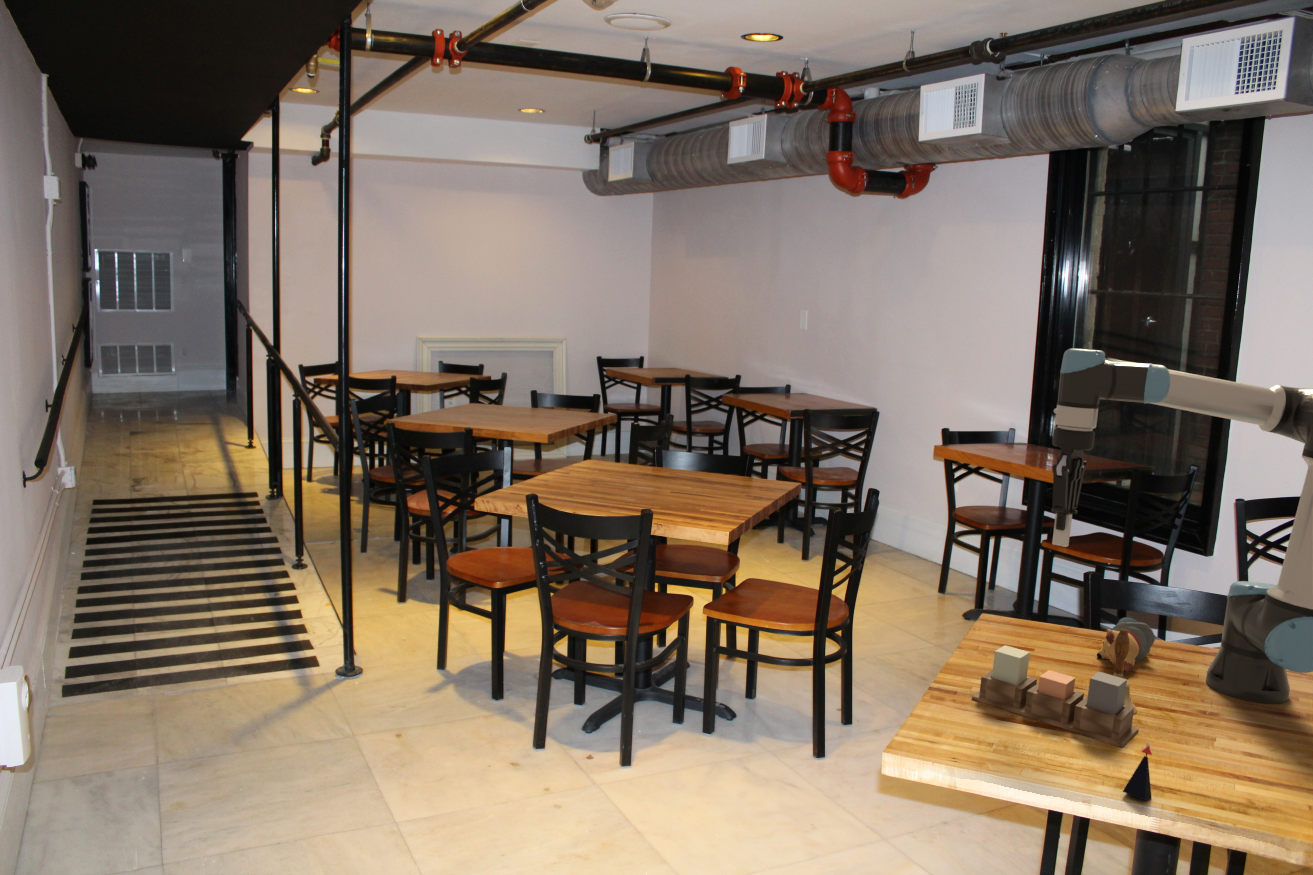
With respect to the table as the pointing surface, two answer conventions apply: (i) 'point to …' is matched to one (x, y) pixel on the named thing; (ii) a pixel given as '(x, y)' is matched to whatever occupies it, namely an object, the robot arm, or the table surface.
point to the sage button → (1010, 665)
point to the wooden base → (1058, 710)
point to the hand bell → (1121, 654)
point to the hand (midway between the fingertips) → (1060, 545)
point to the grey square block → (1106, 693)
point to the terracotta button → (1056, 685)
